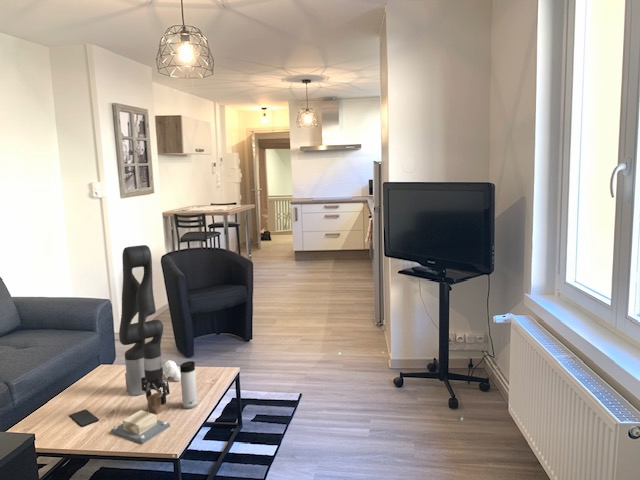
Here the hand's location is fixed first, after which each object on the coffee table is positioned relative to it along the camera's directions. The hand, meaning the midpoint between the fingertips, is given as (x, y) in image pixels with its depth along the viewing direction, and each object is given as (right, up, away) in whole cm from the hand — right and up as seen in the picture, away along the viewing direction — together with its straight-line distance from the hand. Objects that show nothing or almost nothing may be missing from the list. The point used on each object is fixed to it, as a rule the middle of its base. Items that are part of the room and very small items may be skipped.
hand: (156, 402), depth 207 cm
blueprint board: (-1, -6, -14) cm, 16 cm away
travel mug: (+13, -3, +5) cm, 15 cm away
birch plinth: (-2, -5, -14) cm, 15 cm away
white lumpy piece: (-3, 0, +34) cm, 34 cm away
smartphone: (-30, -6, -3) cm, 31 cm away
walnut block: (0, -4, +1) cm, 4 cm away
